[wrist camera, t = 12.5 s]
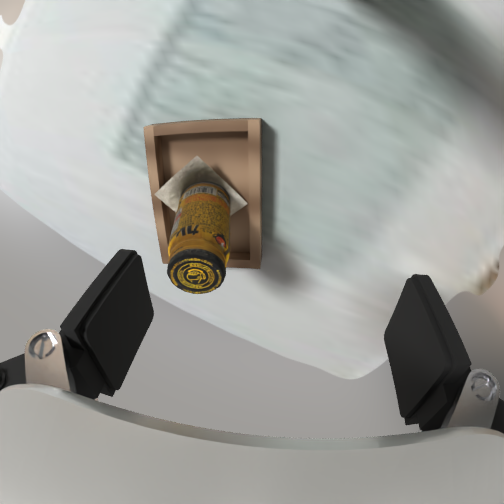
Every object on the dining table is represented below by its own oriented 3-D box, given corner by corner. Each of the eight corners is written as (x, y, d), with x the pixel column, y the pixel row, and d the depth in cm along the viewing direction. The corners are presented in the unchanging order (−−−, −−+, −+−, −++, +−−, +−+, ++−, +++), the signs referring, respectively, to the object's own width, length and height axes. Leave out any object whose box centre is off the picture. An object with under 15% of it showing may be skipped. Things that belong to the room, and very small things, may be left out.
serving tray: (152, 124, 31) (143, 126, 29) (261, 118, 30) (259, 120, 28) (168, 253, 40) (162, 263, 38) (261, 258, 39) (260, 268, 37)
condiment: (204, 234, 38) (197, 310, 29) (154, 193, 33) (127, 264, 24) (247, 202, 35) (254, 276, 26) (197, 154, 30) (181, 217, 21)
